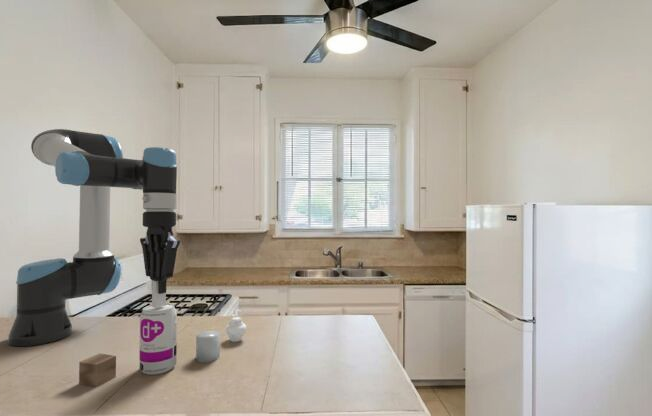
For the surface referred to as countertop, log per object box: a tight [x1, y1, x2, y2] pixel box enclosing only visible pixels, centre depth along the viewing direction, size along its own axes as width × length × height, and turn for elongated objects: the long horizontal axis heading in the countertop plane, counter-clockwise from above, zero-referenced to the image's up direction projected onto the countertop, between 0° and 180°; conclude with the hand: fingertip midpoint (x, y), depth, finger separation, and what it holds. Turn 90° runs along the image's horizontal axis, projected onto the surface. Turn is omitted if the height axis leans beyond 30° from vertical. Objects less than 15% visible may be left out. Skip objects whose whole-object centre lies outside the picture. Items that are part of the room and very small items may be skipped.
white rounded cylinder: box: [195, 330, 221, 363], centre depth 93 cm, size 6×6×6 cm
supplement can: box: [138, 303, 178, 376], centre depth 87 cm, size 8×8×15 cm
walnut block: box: [78, 352, 117, 388], centre depth 80 cm, size 5×5×5 cm
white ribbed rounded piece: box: [225, 316, 247, 343], centre depth 106 cm, size 6×6×7 cm
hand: (158, 306), depth 87 cm, fingers closed
